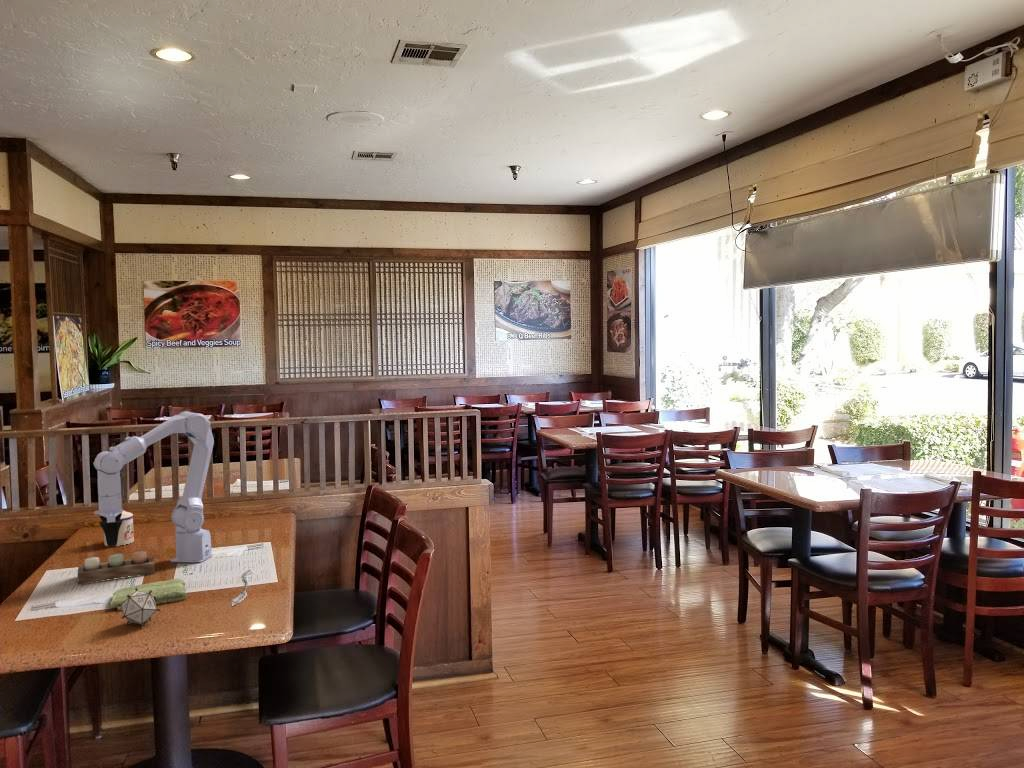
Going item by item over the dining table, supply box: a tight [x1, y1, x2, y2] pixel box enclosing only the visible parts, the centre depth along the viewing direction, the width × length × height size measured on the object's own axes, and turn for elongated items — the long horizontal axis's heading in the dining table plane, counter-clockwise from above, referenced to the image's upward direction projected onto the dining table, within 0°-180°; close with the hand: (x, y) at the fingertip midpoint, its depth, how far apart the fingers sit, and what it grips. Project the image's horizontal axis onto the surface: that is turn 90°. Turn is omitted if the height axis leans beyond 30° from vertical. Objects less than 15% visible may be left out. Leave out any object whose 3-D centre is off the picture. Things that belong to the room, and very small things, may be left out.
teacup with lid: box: [103, 509, 135, 547], centre depth 256 cm, size 12×9×12 cm
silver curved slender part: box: [230, 568, 255, 607], centre depth 211 cm, size 32×1×5 cm
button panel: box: [77, 555, 156, 585], centre depth 222 cm, size 19×8×3 cm, turn 117°
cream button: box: [84, 556, 100, 570], centre depth 219 cm, size 4×4×2 cm
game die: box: [117, 588, 162, 627], centre depth 185 cm, size 9×8×10 cm
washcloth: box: [109, 577, 188, 611], centre depth 202 cm, size 13×18×3 cm
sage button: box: [108, 553, 124, 567], centre depth 222 cm, size 4×4×2 cm
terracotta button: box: [132, 550, 148, 563], centre depth 225 cm, size 4×4×2 cm
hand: (112, 542), depth 221 cm, fingers open, 7 cm apart
